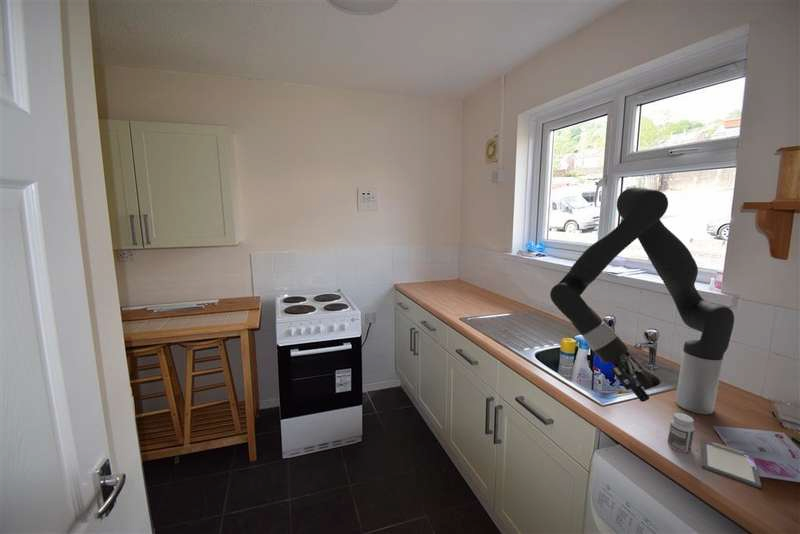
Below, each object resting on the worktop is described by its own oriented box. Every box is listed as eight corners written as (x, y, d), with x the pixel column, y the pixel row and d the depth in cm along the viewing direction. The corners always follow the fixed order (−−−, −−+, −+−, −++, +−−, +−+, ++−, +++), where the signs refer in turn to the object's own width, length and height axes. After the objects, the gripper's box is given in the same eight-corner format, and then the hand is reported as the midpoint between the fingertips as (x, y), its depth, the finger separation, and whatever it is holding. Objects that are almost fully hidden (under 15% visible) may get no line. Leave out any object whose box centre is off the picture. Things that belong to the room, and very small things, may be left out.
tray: (701, 442, 94) (701, 437, 94) (753, 459, 88) (754, 454, 88) (702, 467, 85) (702, 462, 85) (761, 488, 79) (762, 483, 78)
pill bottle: (680, 440, 95) (685, 411, 93) (695, 452, 90) (700, 422, 88) (662, 440, 94) (667, 411, 93) (677, 452, 90) (682, 422, 88)
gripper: (611, 342, 93) (659, 398, 88) (620, 328, 104) (663, 377, 98) (586, 356, 97) (631, 410, 92) (597, 341, 108) (638, 389, 103)
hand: (647, 393), depth 95 cm, fingers open, 8 cm apart
